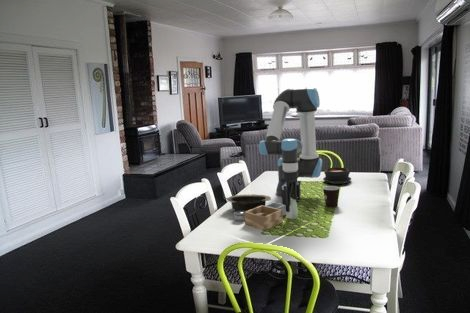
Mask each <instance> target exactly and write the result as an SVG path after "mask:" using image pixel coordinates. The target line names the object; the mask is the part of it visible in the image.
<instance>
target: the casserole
mask: <svg viewBox="0 0 470 313" xmlns="http://www.w3.org/2000/svg"><path fill="white" fill-rule="evenodd" d="M323 173H324V175H325V176H324V177H323V178H322V179H323V181H324V182H326V183H327V182H328V183H329V184H337V185H339V184H340V185H341V184H348V183H349V182H350V181H351V180H352V178H351V177H350V174H351V172H350V171H349V169H348V168H347V167H328V168H326V169H325V170H324V172H323Z"/></svg>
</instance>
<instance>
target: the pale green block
mask: <svg viewBox="0 0 470 313" xmlns="http://www.w3.org/2000/svg"><path fill="white" fill-rule="evenodd" d="M290 205H291V209H292V218H287V219H288V220H296V219H297V218H298V215H297V213H298V210H297V211H296V199H292V198H291V201H290Z"/></svg>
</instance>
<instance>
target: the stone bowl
mask: <svg viewBox="0 0 470 313" xmlns="http://www.w3.org/2000/svg"><path fill="white" fill-rule="evenodd" d="M225 199H226V200H227V201H228V202H229V203H231V209H232V210H233V212H235V211H239V210H243V211H248V210H251V209H254V208H256V207H259V206H261V205H263V206H265V205H267V202H268V201H271V200H272V197H271V196H269V195H265V194H255V193H254V194H238V195H235V194H234V195H231V196H228V197H227V196H226V197H225ZM266 201H267V202H266Z"/></svg>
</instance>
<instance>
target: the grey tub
mask: <svg viewBox="0 0 470 313" xmlns="http://www.w3.org/2000/svg"><path fill="white" fill-rule="evenodd" d="M265 206H267V207H272V208H276V209H281V210H282V215H283V217H284V216H286V205H283V204H282V203H280V202H274V201H273V202H271V203H268V204H265Z"/></svg>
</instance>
